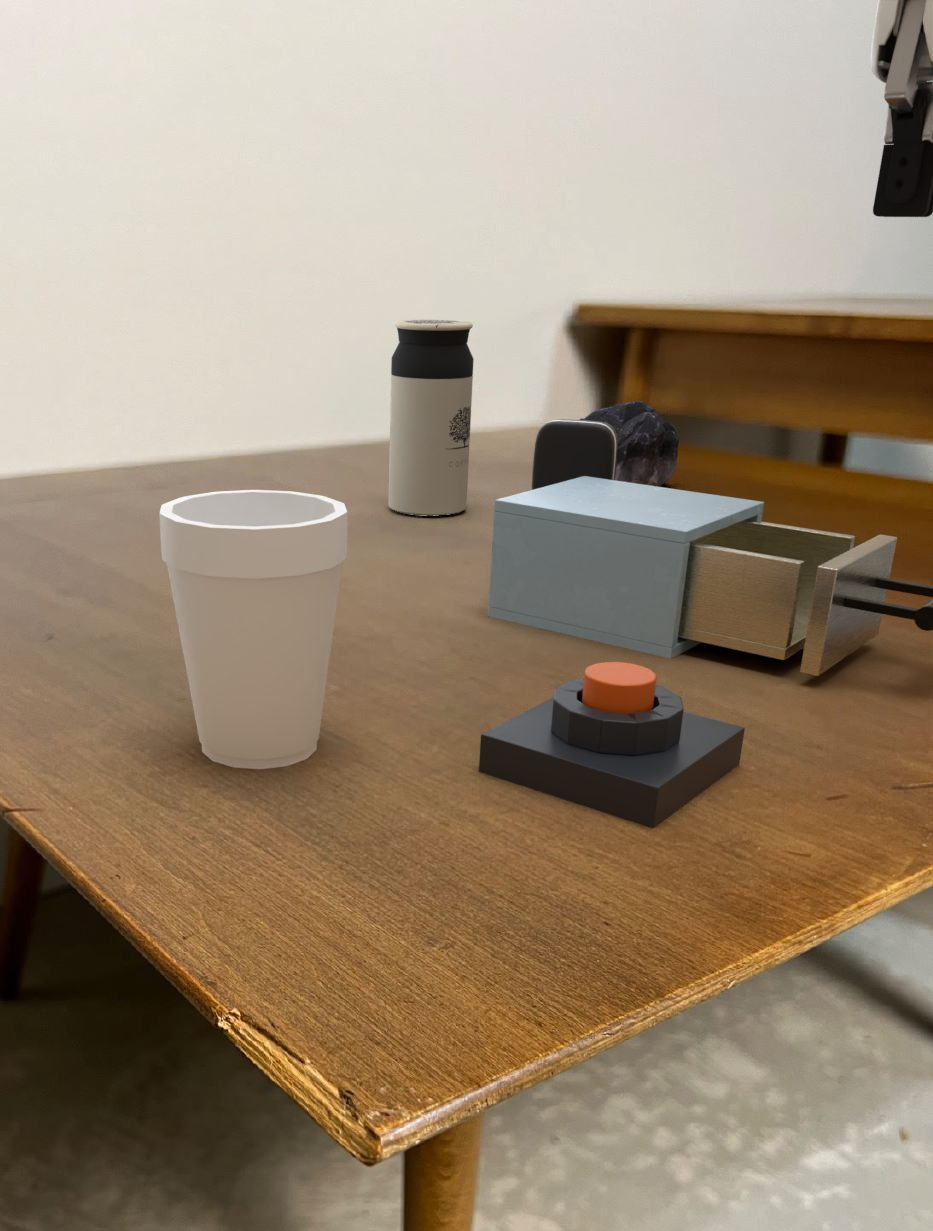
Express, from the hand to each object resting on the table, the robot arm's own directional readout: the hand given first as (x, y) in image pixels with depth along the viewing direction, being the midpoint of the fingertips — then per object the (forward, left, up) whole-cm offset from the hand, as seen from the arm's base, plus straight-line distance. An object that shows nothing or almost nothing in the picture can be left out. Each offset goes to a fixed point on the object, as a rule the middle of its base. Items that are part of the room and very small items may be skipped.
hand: (902, 215), depth 75 cm
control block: (0, +32, -27) cm, 42 cm away
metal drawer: (0, +7, -26) cm, 27 cm away
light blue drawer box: (+13, +7, -27) cm, 31 cm away
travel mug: (+46, -14, -27) cm, 55 cm away
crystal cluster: (+39, -40, -27) cm, 62 cm away
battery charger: (+26, -8, -27) cm, 39 cm away
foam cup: (+16, +42, -27) cm, 53 cm away
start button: (0, +32, -24) cm, 40 cm away
